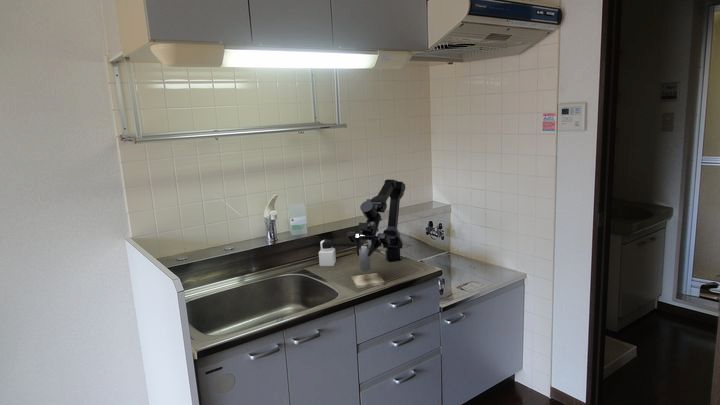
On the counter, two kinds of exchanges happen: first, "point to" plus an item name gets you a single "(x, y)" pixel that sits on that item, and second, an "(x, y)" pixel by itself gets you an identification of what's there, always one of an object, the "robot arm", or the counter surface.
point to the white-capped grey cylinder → (364, 259)
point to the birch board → (367, 280)
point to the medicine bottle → (327, 253)
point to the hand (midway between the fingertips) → (363, 255)
